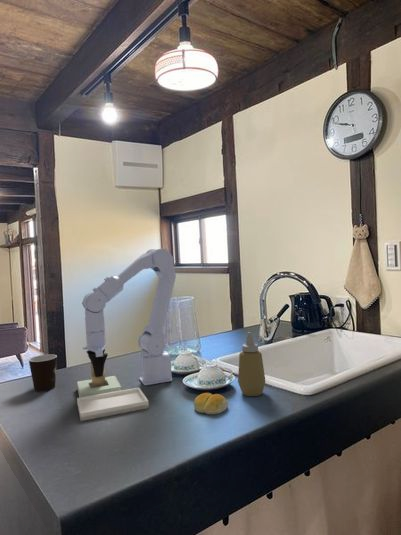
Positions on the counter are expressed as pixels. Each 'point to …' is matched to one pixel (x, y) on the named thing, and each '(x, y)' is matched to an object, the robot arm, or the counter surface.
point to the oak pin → (97, 379)
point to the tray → (111, 403)
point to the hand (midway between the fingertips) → (98, 374)
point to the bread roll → (210, 403)
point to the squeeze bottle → (251, 369)
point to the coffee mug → (43, 372)
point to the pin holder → (87, 389)
